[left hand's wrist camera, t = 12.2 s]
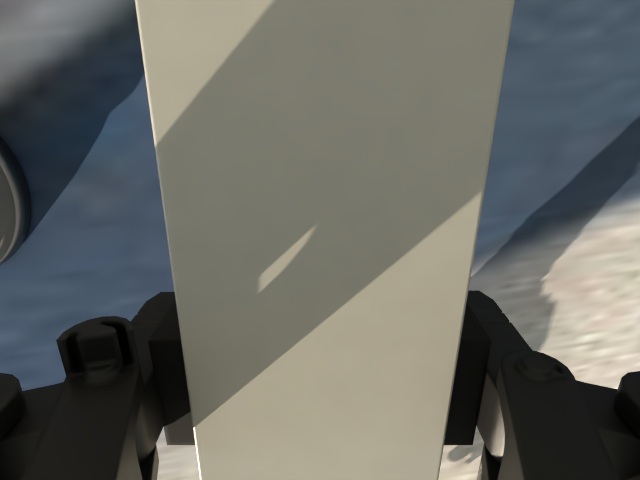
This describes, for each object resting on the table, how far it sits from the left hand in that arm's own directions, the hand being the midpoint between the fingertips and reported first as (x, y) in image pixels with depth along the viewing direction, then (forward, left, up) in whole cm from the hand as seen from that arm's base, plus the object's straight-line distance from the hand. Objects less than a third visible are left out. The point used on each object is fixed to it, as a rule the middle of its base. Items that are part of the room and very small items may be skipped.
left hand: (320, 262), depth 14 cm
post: (+2, +18, -1) cm, 18 cm away
